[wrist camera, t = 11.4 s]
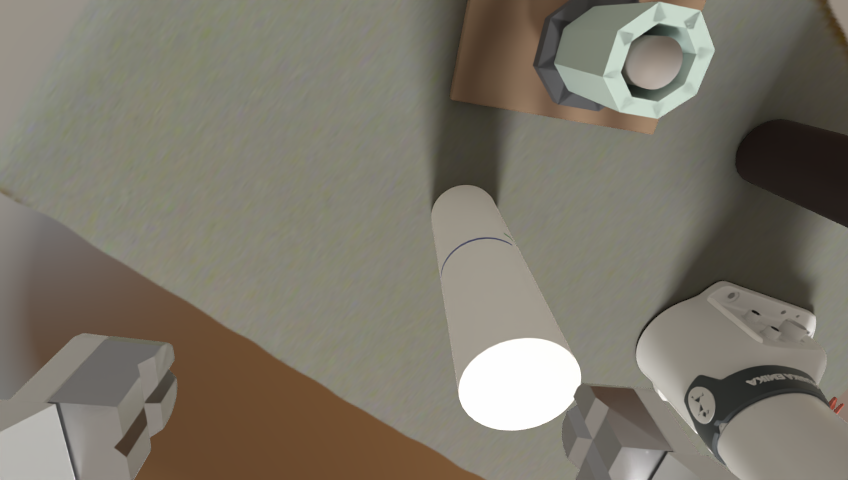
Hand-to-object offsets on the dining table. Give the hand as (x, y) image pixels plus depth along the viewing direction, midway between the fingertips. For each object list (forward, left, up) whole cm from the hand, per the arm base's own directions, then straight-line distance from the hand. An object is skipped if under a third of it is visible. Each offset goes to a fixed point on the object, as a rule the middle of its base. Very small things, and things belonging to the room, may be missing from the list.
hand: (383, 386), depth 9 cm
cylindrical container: (-9, +11, -37) cm, 40 cm away
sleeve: (-15, -7, -31) cm, 35 cm away
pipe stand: (-15, -7, -37) cm, 41 cm away
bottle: (-39, -1, -37) cm, 54 cm away
